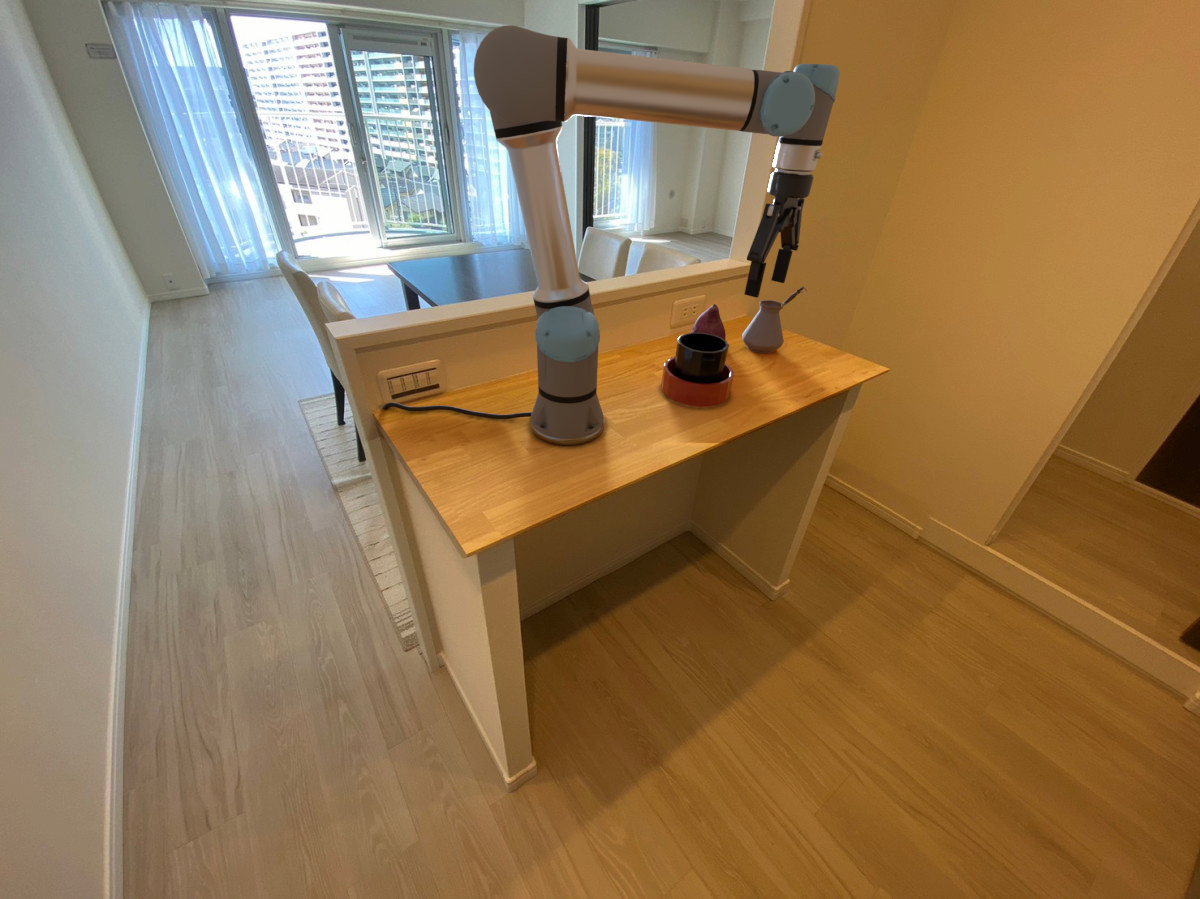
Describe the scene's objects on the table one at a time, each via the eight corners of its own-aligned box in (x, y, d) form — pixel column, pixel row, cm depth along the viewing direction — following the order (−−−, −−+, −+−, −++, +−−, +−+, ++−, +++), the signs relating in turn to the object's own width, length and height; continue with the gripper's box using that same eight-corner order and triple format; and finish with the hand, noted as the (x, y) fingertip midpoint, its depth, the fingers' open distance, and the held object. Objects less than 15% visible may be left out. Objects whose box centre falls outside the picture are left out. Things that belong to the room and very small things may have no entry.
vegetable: (719, 366, 136) (737, 322, 125) (683, 357, 137) (698, 312, 125) (723, 343, 143) (740, 299, 131) (688, 335, 144) (702, 290, 132)
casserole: (666, 408, 110) (669, 384, 107) (657, 375, 123) (660, 353, 120) (736, 409, 111) (741, 386, 108) (719, 377, 124) (724, 355, 121)
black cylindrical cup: (676, 404, 111) (683, 355, 104) (667, 375, 123) (673, 329, 116) (725, 405, 111) (735, 356, 104) (711, 376, 123) (720, 330, 116)
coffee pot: (765, 359, 134) (779, 305, 125) (731, 345, 141) (742, 293, 132) (807, 342, 145) (823, 291, 137) (774, 329, 152) (787, 280, 144)
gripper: (787, 179, 80) (757, 307, 92) (835, 170, 96) (804, 280, 108) (744, 173, 83) (721, 297, 96) (797, 165, 99) (771, 272, 112)
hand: (765, 288), depth 102 cm, fingers open, 13 cm apart
